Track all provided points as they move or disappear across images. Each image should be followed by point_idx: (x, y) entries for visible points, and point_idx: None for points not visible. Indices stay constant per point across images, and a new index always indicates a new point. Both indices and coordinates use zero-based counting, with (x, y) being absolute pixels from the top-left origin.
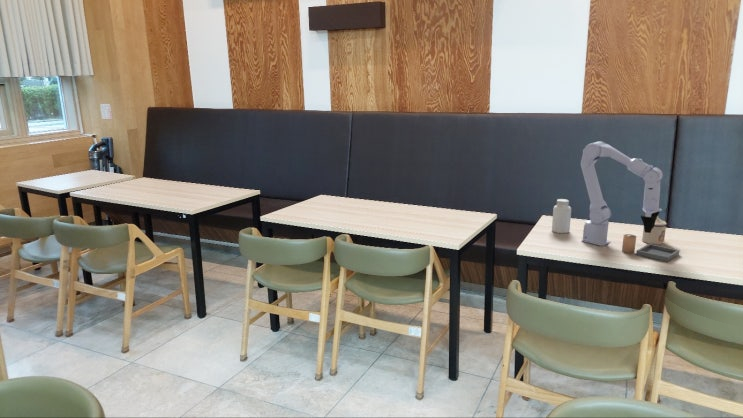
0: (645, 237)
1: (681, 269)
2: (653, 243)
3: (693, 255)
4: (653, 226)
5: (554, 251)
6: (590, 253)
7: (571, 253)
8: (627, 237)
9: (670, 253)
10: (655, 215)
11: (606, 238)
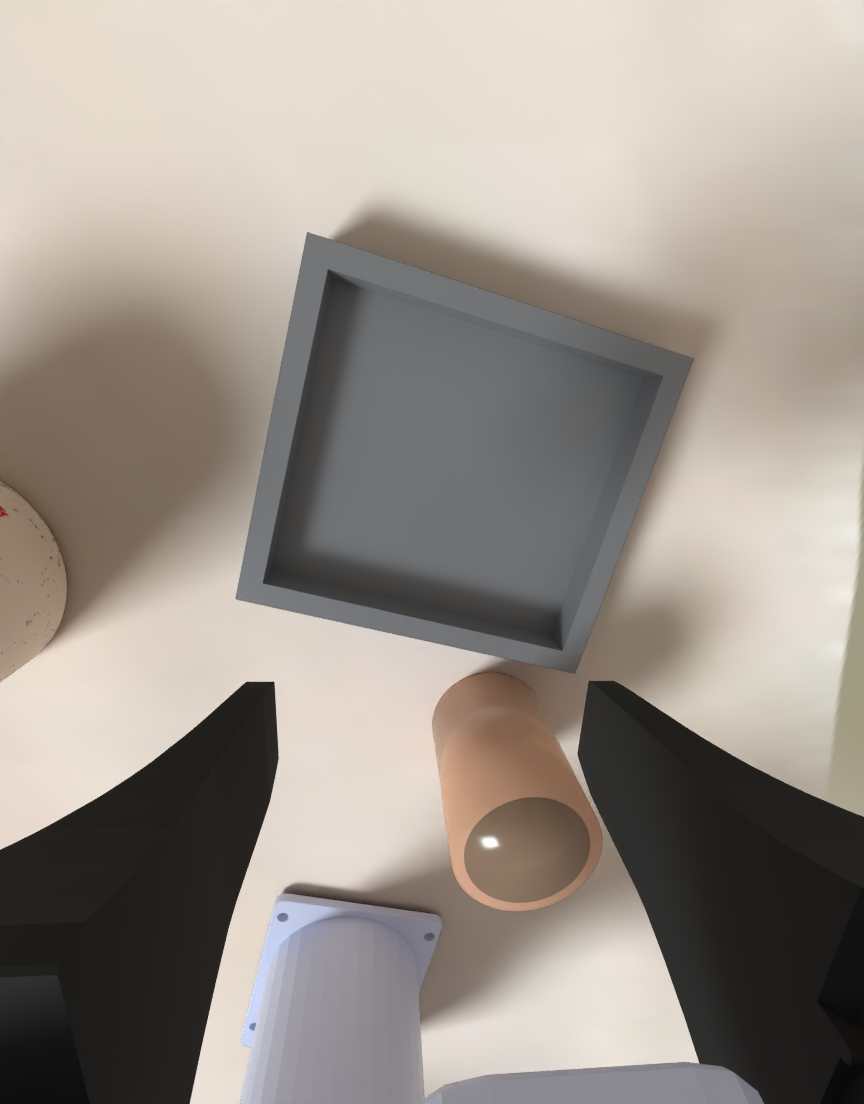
0: (12, 667)
1: (837, 206)
2: (59, 555)
3: (223, 60)
4: (266, 700)
5: None
6: None
7: None
8: (595, 857)
9: (360, 346)
10: (157, 910)
11: (350, 958)
